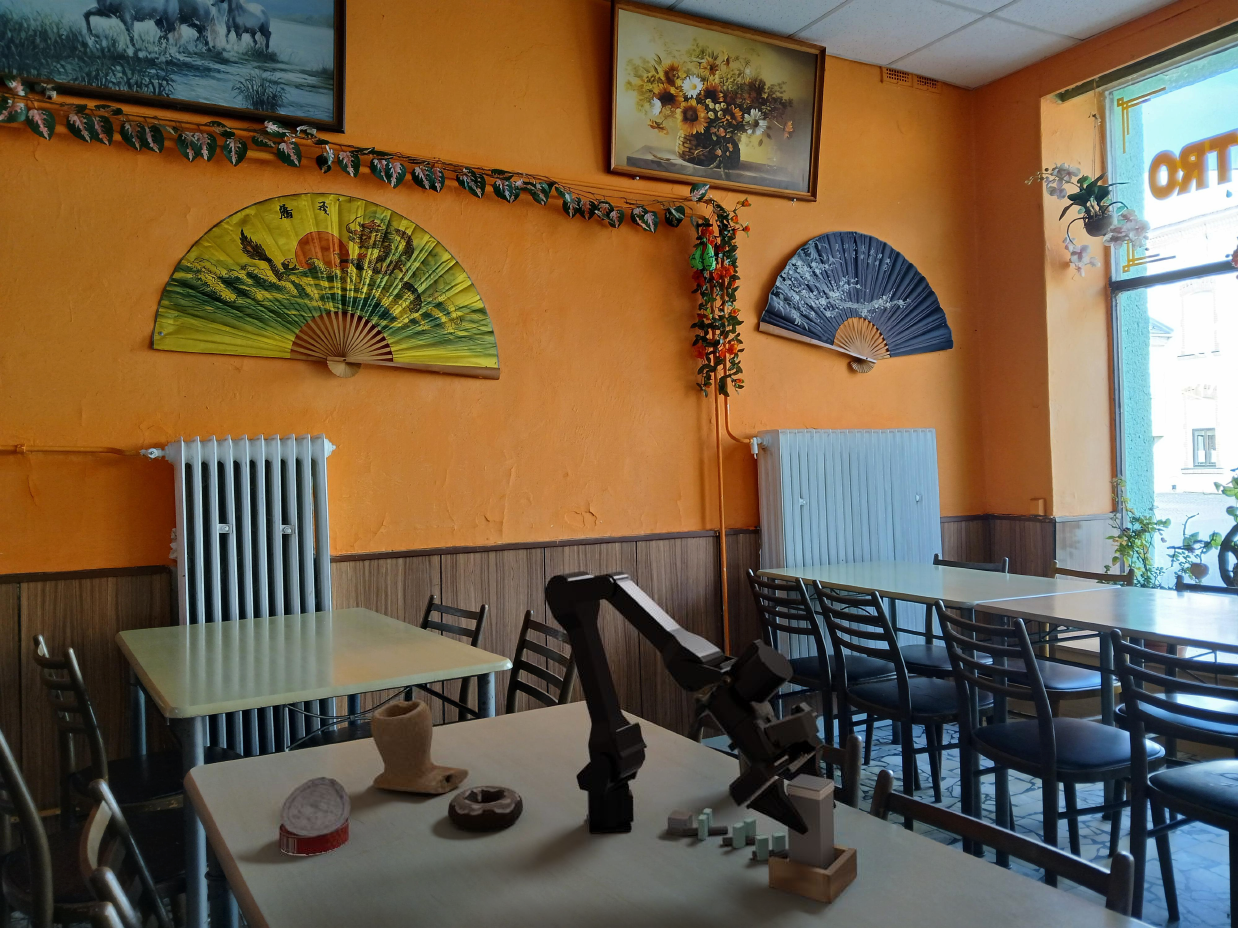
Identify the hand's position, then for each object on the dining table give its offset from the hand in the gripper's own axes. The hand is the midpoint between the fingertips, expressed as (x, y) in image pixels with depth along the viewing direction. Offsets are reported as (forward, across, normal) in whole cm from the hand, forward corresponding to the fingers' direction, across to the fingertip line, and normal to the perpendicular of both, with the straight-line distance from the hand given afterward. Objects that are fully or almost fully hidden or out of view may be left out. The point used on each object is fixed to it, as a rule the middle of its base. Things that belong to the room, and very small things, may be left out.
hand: (820, 820), depth 117 cm
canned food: (-42, -29, +54) cm, 74 cm away
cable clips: (-5, +5, +16) cm, 18 cm away
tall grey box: (+5, 0, +7) cm, 8 cm away
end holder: (+5, 0, +7) cm, 8 cm away
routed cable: (-5, +4, +16) cm, 18 cm away
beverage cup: (-10, +26, +22) cm, 36 cm away
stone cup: (-45, -6, +57) cm, 73 cm away
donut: (-31, -8, +43) cm, 54 cm away
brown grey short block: (-11, +4, +23) cm, 26 cm away
